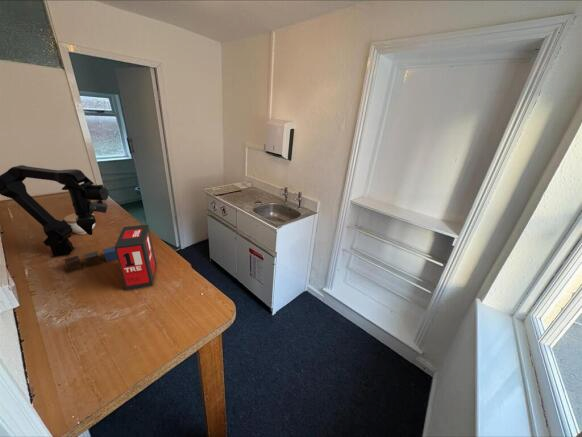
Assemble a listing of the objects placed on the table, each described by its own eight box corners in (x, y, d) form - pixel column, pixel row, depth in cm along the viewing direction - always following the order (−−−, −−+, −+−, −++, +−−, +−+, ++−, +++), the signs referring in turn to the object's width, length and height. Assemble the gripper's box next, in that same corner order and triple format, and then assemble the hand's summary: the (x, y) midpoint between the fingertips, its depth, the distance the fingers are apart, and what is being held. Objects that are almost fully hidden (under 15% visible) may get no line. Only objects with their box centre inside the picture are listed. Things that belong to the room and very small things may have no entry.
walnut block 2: (88, 266, 102) (85, 258, 100) (87, 262, 105) (84, 253, 103) (100, 263, 105) (97, 255, 103) (99, 258, 108) (96, 250, 106)
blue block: (106, 261, 106) (103, 253, 105) (105, 257, 109) (102, 249, 107) (117, 258, 109) (115, 250, 107) (116, 254, 112) (114, 246, 110)
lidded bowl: (69, 238, 121) (62, 219, 116) (68, 229, 129) (62, 211, 125) (99, 232, 129) (94, 214, 124) (97, 224, 137) (92, 206, 132)
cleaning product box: (152, 285, 95) (143, 243, 86) (126, 290, 91) (114, 247, 83) (156, 262, 108) (148, 224, 100) (133, 266, 105) (123, 227, 97)
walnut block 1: (68, 272, 98) (64, 263, 96) (67, 267, 101) (64, 258, 99) (81, 268, 101) (78, 260, 99) (81, 263, 104) (78, 255, 102)
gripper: (105, 202, 100) (114, 234, 107) (101, 190, 112) (108, 219, 119) (71, 207, 93) (82, 241, 100) (70, 193, 105) (80, 224, 112)
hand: (90, 230), depth 108 cm, fingers open, 9 cm apart
